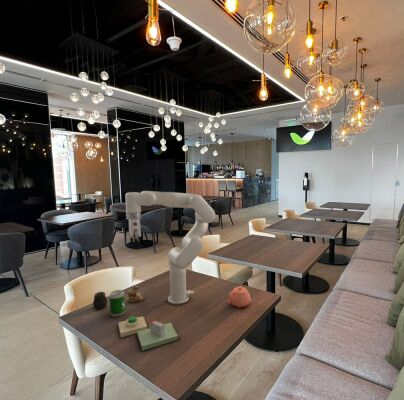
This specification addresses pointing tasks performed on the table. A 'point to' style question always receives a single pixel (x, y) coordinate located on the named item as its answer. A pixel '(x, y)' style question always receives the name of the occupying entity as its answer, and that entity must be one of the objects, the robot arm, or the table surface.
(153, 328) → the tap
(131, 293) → the chocolate bunny
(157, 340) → the panel
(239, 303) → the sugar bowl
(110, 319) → the table surface
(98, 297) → the mate gourd
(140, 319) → the button box
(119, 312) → the soda can
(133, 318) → the button
